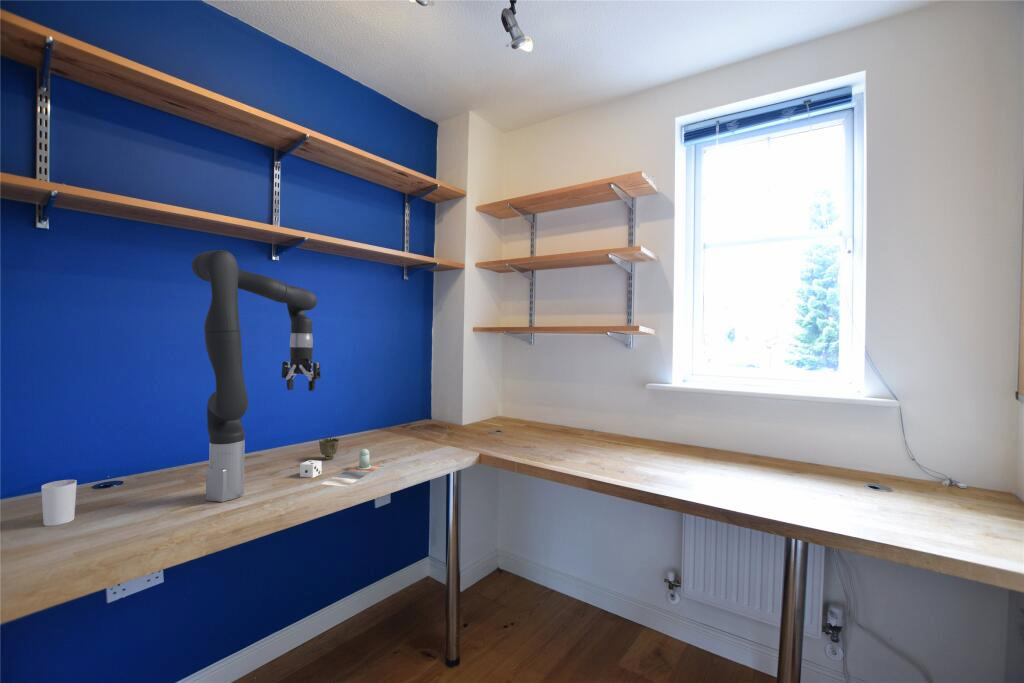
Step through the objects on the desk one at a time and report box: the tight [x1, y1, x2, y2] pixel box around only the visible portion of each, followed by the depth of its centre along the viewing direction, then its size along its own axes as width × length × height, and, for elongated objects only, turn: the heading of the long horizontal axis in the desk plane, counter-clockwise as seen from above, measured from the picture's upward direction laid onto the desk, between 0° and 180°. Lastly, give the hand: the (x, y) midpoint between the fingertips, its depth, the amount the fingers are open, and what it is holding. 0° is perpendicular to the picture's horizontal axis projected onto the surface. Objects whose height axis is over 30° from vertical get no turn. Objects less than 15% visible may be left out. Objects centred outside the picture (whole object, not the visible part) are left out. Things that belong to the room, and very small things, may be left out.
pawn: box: [357, 448, 371, 470], centre depth 168 cm, size 5×5×7 cm
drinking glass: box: [40, 479, 78, 527], centre depth 118 cm, size 7×7×10 cm
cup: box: [318, 437, 340, 461], centre depth 181 cm, size 8×7×8 cm
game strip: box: [321, 463, 385, 488], centre depth 161 cm, size 25×11×1 cm, turn 168°
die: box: [299, 459, 323, 479], centre depth 159 cm, size 5×5×5 cm
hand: (300, 390), depth 162 cm, fingers open, 8 cm apart
